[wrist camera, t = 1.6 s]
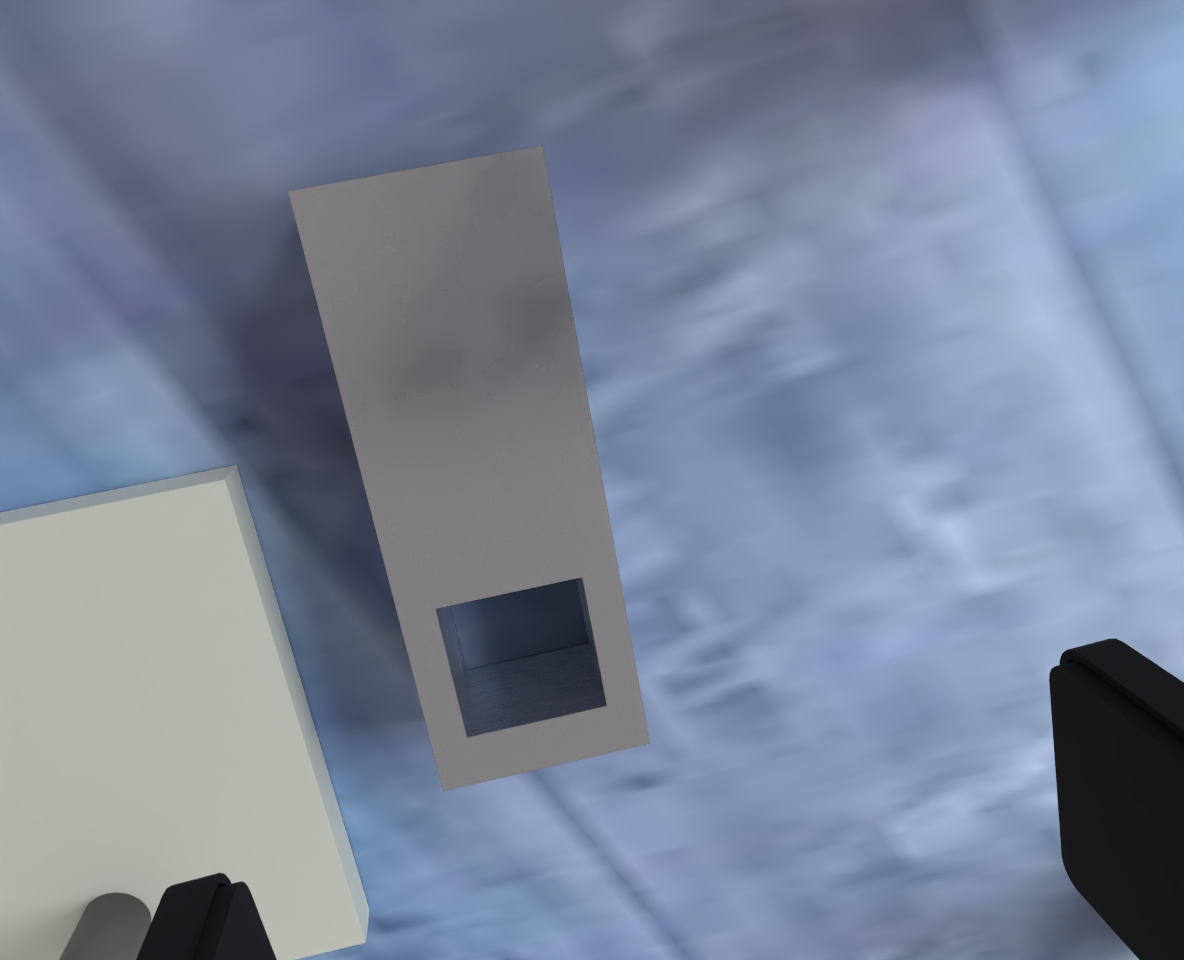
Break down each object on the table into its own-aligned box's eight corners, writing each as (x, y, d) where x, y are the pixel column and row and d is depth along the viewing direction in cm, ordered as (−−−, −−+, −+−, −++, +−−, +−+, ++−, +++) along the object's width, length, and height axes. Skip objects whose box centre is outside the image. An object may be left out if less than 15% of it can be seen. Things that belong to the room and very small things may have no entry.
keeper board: (-270, 566, 27) (-527, 701, 20) (236, 464, 28) (162, 558, 21) (-55, 1011, 32) (-201, 1246, 25) (369, 910, 33) (346, 1107, 26)
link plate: (312, 190, 26) (287, 191, 23) (530, 151, 27) (541, 145, 23) (444, 718, 31) (443, 791, 28) (626, 677, 32) (649, 743, 28)
